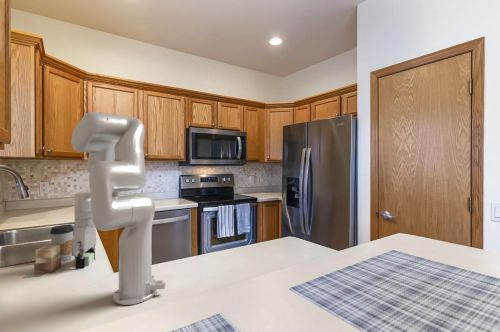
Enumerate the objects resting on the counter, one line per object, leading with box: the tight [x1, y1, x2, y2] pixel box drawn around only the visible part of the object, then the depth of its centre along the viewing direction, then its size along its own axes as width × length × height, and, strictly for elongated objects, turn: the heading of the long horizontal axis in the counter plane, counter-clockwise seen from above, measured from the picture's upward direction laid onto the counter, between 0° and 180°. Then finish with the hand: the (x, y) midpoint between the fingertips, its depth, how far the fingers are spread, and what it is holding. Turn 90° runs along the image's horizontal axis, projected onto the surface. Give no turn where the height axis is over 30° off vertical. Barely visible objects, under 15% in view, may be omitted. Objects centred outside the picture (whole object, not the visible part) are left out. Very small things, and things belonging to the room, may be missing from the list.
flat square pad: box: [21, 264, 67, 279], centre depth 100 cm, size 11×11×1 cm
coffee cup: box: [49, 224, 74, 263], centre depth 112 cm, size 8×8×15 cm
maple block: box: [35, 244, 60, 264], centre depth 100 cm, size 6×6×5 cm
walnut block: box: [33, 257, 62, 275], centre depth 100 cm, size 6×6×4 cm
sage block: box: [80, 252, 95, 267], centre depth 106 cm, size 4×4×5 cm
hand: (85, 264), depth 106 cm, fingers open, 8 cm apart
